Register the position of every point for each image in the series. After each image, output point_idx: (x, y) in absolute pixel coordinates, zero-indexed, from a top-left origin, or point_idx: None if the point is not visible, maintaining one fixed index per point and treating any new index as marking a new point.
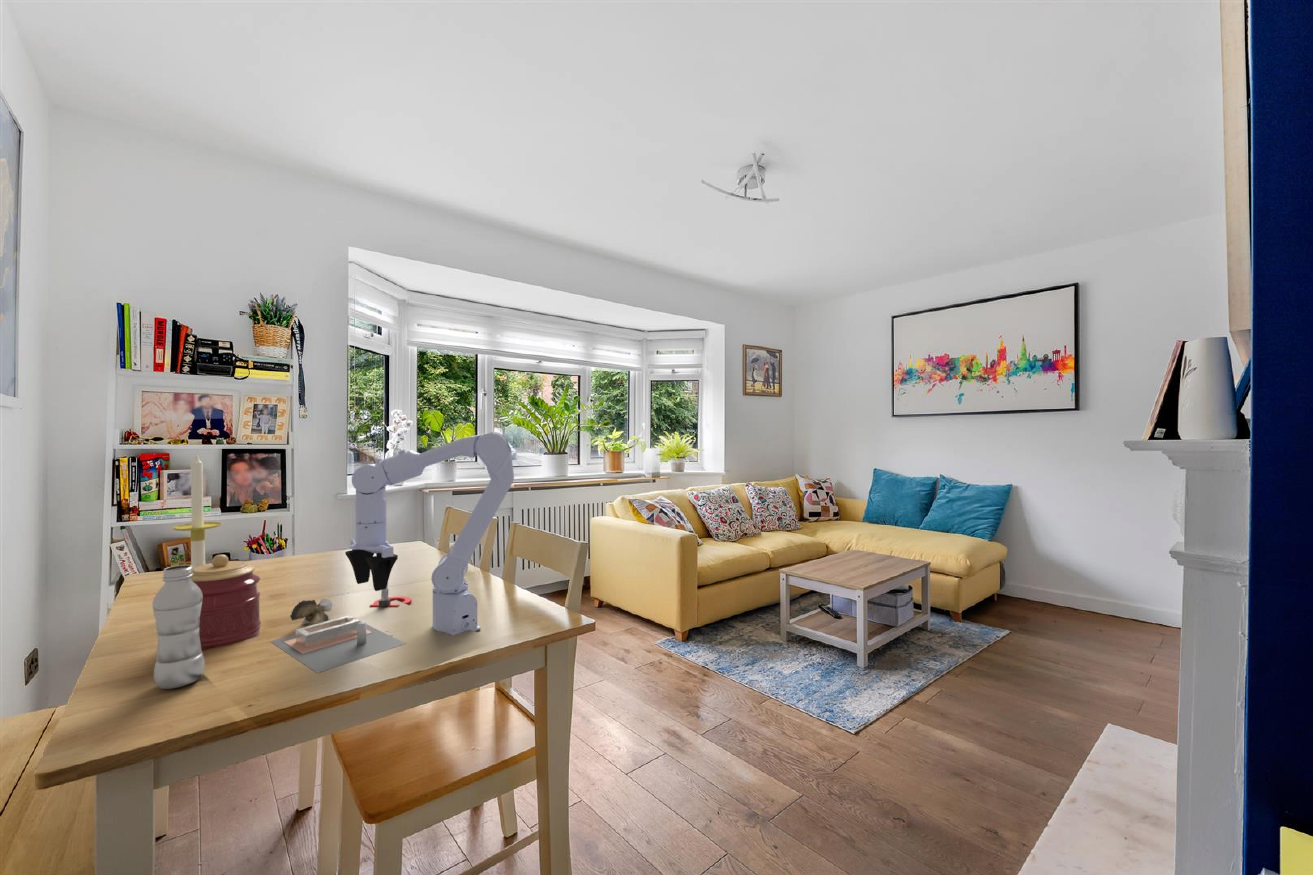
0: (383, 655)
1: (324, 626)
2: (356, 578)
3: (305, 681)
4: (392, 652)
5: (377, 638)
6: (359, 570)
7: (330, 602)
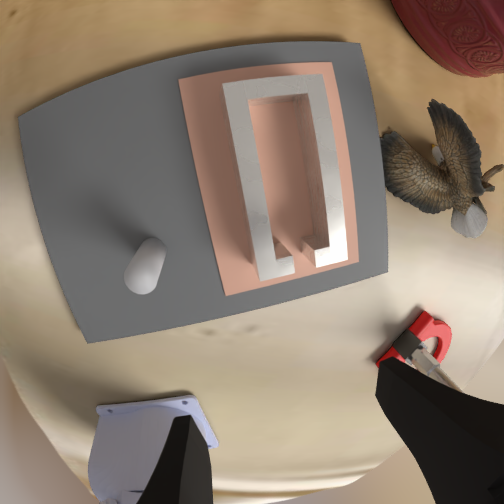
0: None
1: (316, 167)
2: (403, 372)
3: (30, 93)
4: None
5: (165, 296)
6: (420, 414)
7: (471, 234)
